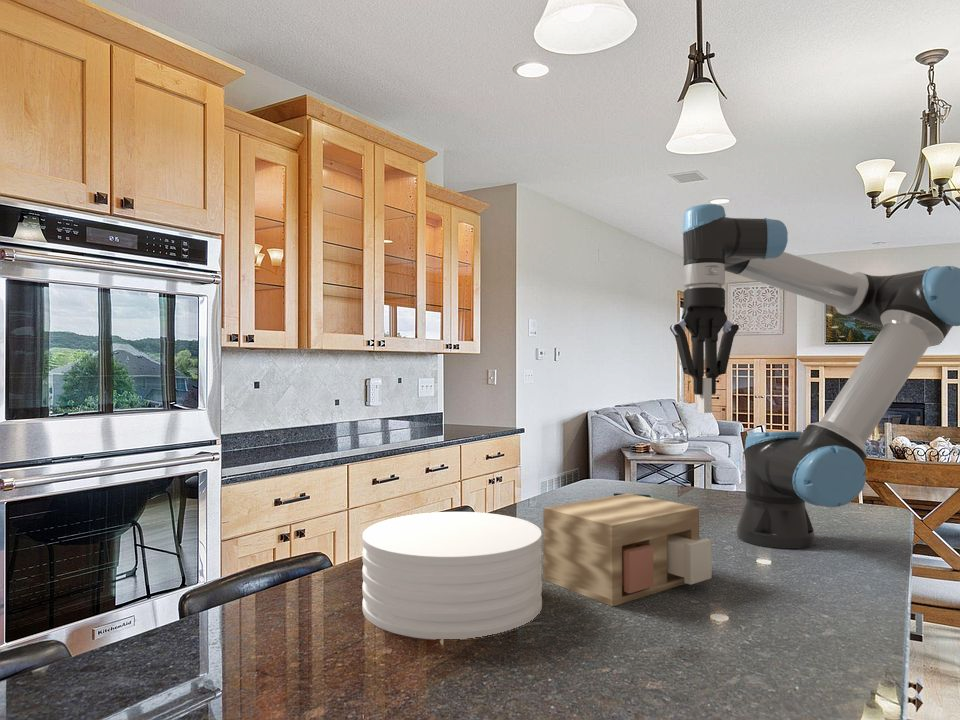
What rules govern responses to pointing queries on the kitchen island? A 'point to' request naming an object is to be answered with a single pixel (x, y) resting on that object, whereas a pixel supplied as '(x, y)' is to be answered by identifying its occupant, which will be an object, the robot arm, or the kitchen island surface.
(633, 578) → the rust plug
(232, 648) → the kitchen island surface
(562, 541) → the wooden box
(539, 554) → the plate stack
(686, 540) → the cream plug
